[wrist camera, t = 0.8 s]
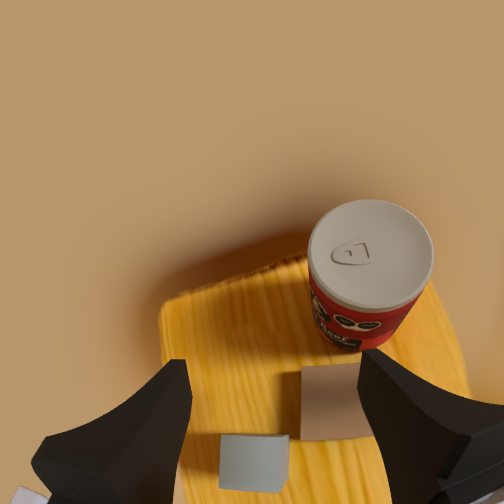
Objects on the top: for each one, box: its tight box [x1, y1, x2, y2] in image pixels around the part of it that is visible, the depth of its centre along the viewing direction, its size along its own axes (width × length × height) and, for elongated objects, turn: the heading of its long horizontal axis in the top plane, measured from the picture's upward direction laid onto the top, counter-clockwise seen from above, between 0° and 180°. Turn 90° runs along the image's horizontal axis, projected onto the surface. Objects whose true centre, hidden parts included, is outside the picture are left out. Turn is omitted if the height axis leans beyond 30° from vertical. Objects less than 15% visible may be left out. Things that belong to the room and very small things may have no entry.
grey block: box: [219, 433, 290, 493], centre depth 20 cm, size 4×4×6 cm
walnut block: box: [300, 363, 374, 441], centre depth 22 cm, size 6×6×2 cm
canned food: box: [307, 199, 434, 351], centre depth 22 cm, size 8×8×11 cm
